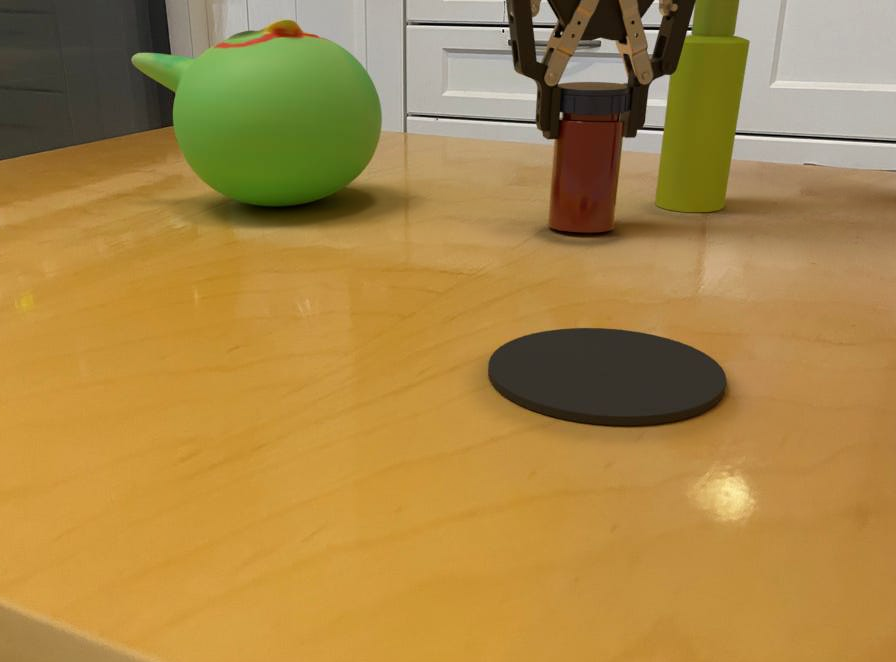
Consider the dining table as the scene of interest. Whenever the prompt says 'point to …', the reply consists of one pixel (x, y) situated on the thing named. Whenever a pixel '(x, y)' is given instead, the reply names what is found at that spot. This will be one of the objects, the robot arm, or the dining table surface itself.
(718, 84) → the soap dispenser
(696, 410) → the coaster
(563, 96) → the lid
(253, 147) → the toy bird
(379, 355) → the dining table surface
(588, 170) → the jar
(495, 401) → the dining table surface
